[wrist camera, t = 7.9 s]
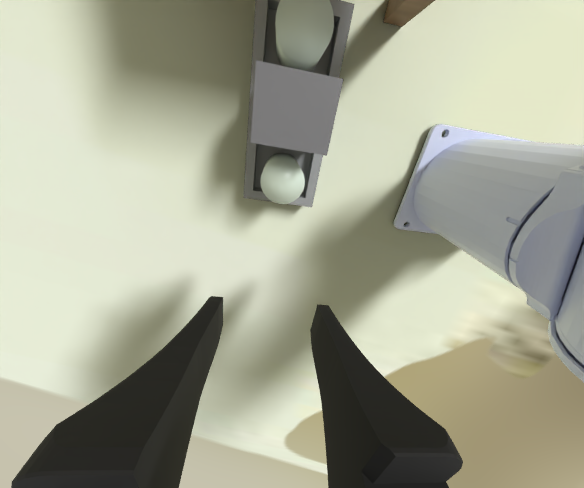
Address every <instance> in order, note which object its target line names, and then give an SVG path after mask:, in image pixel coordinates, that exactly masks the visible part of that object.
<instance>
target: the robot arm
mask: <svg viewBox="0 0 584 488" xmlns="http://www.w3.org/2000/svg"><path fill="white" fill-rule="evenodd" d="M444 130H445V135H444V136H443V137H442V132H443V131H444ZM406 222H407V224H406V225H405V226H404V223H406ZM394 226H395V227H396V228H397V229H402V230H410V231H418V232H426V233H434V234H439V235H441V236H442V237H444V238H445V239H447V240H448V241H450V242H451V243H452V244H454V245H455V246H457V247H458V248H460V249H461V250H463V251H464V252H466V253H467V254H469V255H470V256H472V257H473V258H475V259H476V260H478V261H479V262H481V263H482V264H484V265H485V266H487V267H488V268H489V269H491V270H492V271H494V272H495V273H497V274H498V275H500V276H501V277H503V278H504V279H506V280H507V281H509V282H510V283H512V284H513V285H515V286H516V287H518V288H519V289H521V290H522V291H523V292H524V293H525V294H526V296H527V304H528V305H529V306H530V307H532V308H533V309H535V310H536V311H537V312H539V313H540V314H541V315H543V316H544V317H546V318H547V319H548V320H550V322H549V326H548V335H549V340H550V343H551V345H552V347H553V349H554V351H555V352H556V354H557V355H558V357H559V358H560V359H561V361H562V362H563V363H564V364H565V365H566V366H567V367H568V368H569V370H571V372H572V373H573V374H575V375H576V376H577V377H578V378H579V379H580V380H582V381H583V382H584V145H576V144H560V143H544V142H533V141H527V140H522V139H517V138H512V137H506V136H501V135H496V134H490V133H485V132H480V131H475V130H469V129H464V128H459V127H453V126H448V125H443V124H436V125H434V126H433V127H432V128H431V129H430V131H429V133H428V136H427V138H426V141H425V144H424V146H423V149H422V151H421V154H420V156H419V159H418V161H417V164H416V167H415V169H414V172H413V174H412V177H411V179H410V182H409V184H408V187H407V190H406V192H405V195H404V197H403V200H402V202H401V205H400V207H399V210H398V212H397V215H396V218H395V220H394ZM222 326H223V297H213V296H211V297H210V298H209V299H208V300H207V301H206V303H205V304H204V305H203V307H202V308H201V309H200V310H199V311H198V313H197V314H196V315H195V316H194V317H193V318H192V319H191V321H190V322H189V323H188V324H187V325H186V326H185V327H184V328H183V329H182V330H181V331H180V332H179V333H178V334H177V335H176V336H175V337H174V338H173V339H172V340H171V341H170V342H169V343H168V344H167V345H166V346H165V347H164V348H163V349H162V350H161V351H159V352H158V353H157V354H156V355H155V356H154V357H153V358H151V359H150V360H149V361H148V362H146V363H145V364H144V365H143V366H142V367H140V368H139V369H138V370H137V371H135V372H134V373H133V374H131V375H130V376H129V377H127V378H126V379H125V380H123V381H122V382H121V383H119V384H118V385H116V386H115V387H114V388H112V389H111V390H109V391H108V392H107V393H105V394H104V395H102V396H101V397H99V398H98V399H96V400H95V401H93V402H92V403H90V404H89V405H87V406H86V407H84V408H83V409H81V410H79V411H78V412H76V413H75V414H73V415H72V416H70V417H68V418H67V419H65V420H64V421H62V422H61V423H59V424H57V425H56V426H55V427H54V429H53V430H52V431H51V432H50V433H49V434H48V435H47V437H46V438H45V439H44V440H43V441H42V443H41V444H40V445H39V446H38V448H37V449H36V450H35V452H34V453H33V454H32V456H31V457H30V458H29V460H28V461H27V462H26V464H25V465H24V466H23V468H22V469H21V470H20V472H19V473H18V474H17V476H16V477H15V478H14V480H13V481H12V486H11V487H12V488H179V484H180V479H181V475H182V471H183V466H184V462H185V458H186V453H187V449H188V444H189V441H190V437H191V433H192V429H193V424H194V420H195V416H196V412H197V409H198V405H199V401H200V397H201V394H202V390H203V387H204V384H205V381H206V378H207V376H208V373H209V370H210V367H211V364H212V361H213V358H214V355H215V352H216V349H217V346H218V343H219V339H220V335H221V330H222ZM311 344H312V352H313V358H314V363H315V368H316V373H317V378H318V384H319V389H320V395H321V401H322V411H323V421H324V431H325V443H326V456H327V470H328V486H329V488H449V487H448V485H447V483H446V481H447V480H448V479H449V478H451V477H452V476H453V475H454V474H456V473H457V472H458V471H459V470H460V469H461V467H462V463H463V461H462V458H461V456H460V455H459V453H458V451H457V449H456V447H455V445H454V443H453V442H452V440H451V438H450V436H449V435H448V433H447V432H446V430H445V429H444V428H443V427H442V426H440V425H439V424H438V423H437V422H435V421H434V420H433V419H431V418H430V417H429V416H427V415H426V414H425V413H424V412H422V411H421V410H420V409H419V408H417V407H416V406H415V405H414V404H413V403H411V402H410V401H409V400H408V399H407V398H406V397H404V396H403V395H402V394H401V393H400V392H399V391H398V390H397V389H396V388H394V386H392V385H391V384H390V383H389V382H388V381H387V380H386V379H385V378H384V377H383V376H382V375H381V374H380V373H379V372H378V371H377V370H376V369H375V367H374V366H373V365H372V364H371V363H370V362H369V361H368V360H367V359H366V357H365V356H364V355H363V354H362V353H361V351H360V350H359V349H358V348H357V346H356V345H355V344H354V342H353V341H352V340H351V338H350V337H349V336H348V334H347V333H346V331H345V330H344V329H343V327H342V326H341V324H340V323H339V321H338V320H337V318H336V317H335V315H334V314H333V312H332V311H331V309H330V307H329V306H328V305H317V308H316V312H315V316H314V319H313V323H312V327H311Z"/></svg>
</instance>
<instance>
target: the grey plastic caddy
mask: <svg viewBox="0 0 584 488" xmlns="http://www.w3.org/2000/svg"><path fill="white" fill-rule="evenodd" d="M353 9H354V4H352V3H348V2H344V1H341V0H256V4H255V21H254V37H253V53H252V69H251V86H250V102H249V118H248V135H247V151H246V167H245V184H244V198H249V199H257V200H264V201H271V202H275V203H278V204H292V205H299V206H307V207H312V204H313V199H314V195H315V190H316V185H317V180H318V176H319V171H320V166H321V161H322V157H323V155H326V156H327V152H328V147H329V143H330V138H331V134H332V129H333V124H334V120H335V115H336V111H337V106H338V102H339V97H340V92H341V88H342V83H343V79H341V78H339V76H340V71H341V66H342V61H343V57H344V52H345V47H346V42H347V38H348V33H349V28H350V23H351V19H352V14H353Z"/></svg>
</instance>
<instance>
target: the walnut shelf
mask: <svg viewBox="0 0 584 488" xmlns="http://www.w3.org/2000/svg"><path fill="white" fill-rule="evenodd" d="M433 1H435V0H389V1H388V5H387V9H386V13H385V17H384V21H383V22H384V23H389V24H393V25H397V26H401V27H402V26H404V25H405V24H406V23H407V22H409V21H410V20H411V19H412V18H414V17H415V16H416V15H417V14H418V13H420V12H421V11H422V10H423V9H425V8H426V7H427V6H428V5H430V4H431V3H432V2H433Z"/></svg>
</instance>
